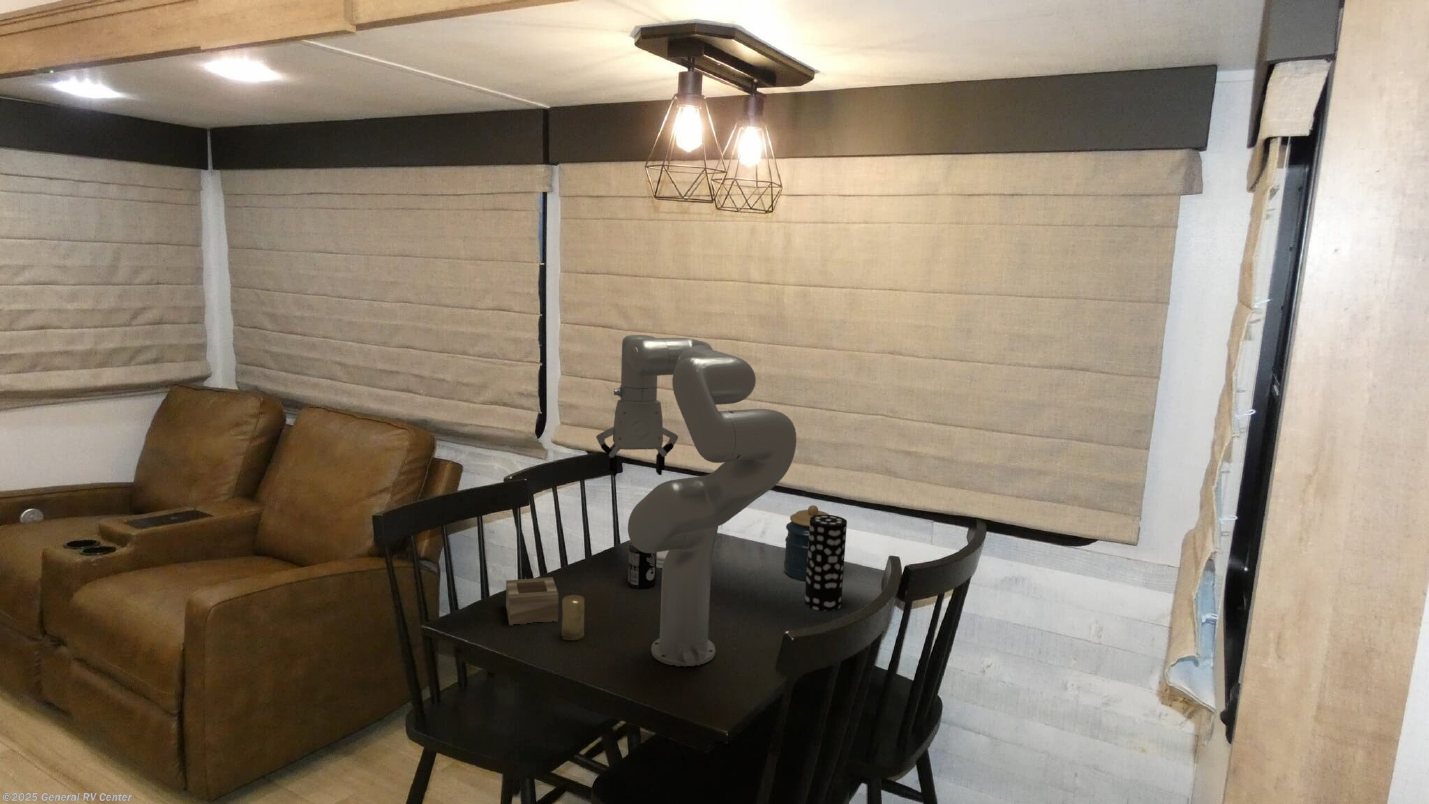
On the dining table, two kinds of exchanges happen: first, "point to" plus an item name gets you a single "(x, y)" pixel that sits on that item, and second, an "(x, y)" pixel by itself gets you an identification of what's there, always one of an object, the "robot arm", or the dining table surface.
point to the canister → (799, 542)
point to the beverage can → (641, 568)
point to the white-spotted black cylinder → (825, 562)
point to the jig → (531, 600)
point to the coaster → (661, 558)
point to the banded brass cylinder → (573, 617)
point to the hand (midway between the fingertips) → (636, 474)
